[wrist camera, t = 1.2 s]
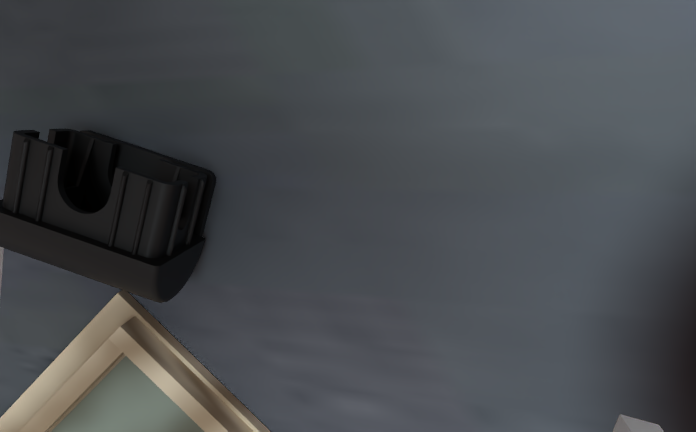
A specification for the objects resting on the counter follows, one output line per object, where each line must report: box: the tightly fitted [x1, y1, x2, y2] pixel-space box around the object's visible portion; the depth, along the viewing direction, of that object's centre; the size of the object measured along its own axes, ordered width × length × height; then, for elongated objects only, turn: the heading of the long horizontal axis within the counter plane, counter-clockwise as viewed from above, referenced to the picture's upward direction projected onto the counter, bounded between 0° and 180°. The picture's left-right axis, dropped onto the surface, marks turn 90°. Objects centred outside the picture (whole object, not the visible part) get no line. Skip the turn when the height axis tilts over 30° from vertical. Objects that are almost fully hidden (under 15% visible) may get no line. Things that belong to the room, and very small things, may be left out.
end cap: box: [0, 129, 216, 303], centre depth 29 cm, size 10×7×7 cm
